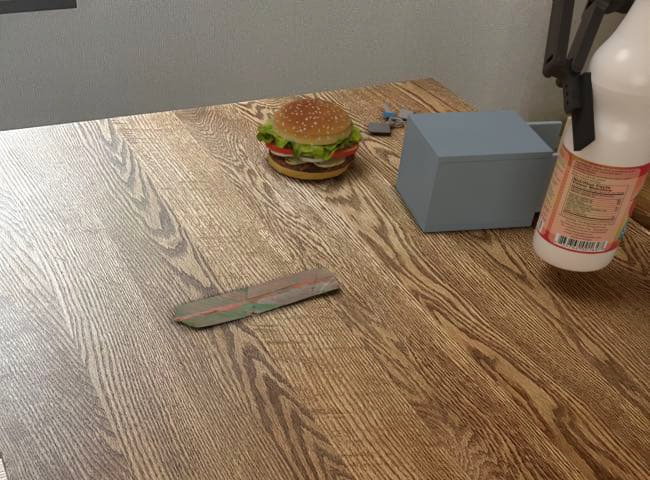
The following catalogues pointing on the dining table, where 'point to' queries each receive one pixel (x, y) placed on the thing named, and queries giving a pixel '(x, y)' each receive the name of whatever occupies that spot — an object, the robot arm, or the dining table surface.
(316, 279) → the map
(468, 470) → the dining table surface
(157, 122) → the dining table surface
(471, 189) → the cabinet
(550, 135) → the drawer
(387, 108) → the key chain
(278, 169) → the food
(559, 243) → the fruit juice
